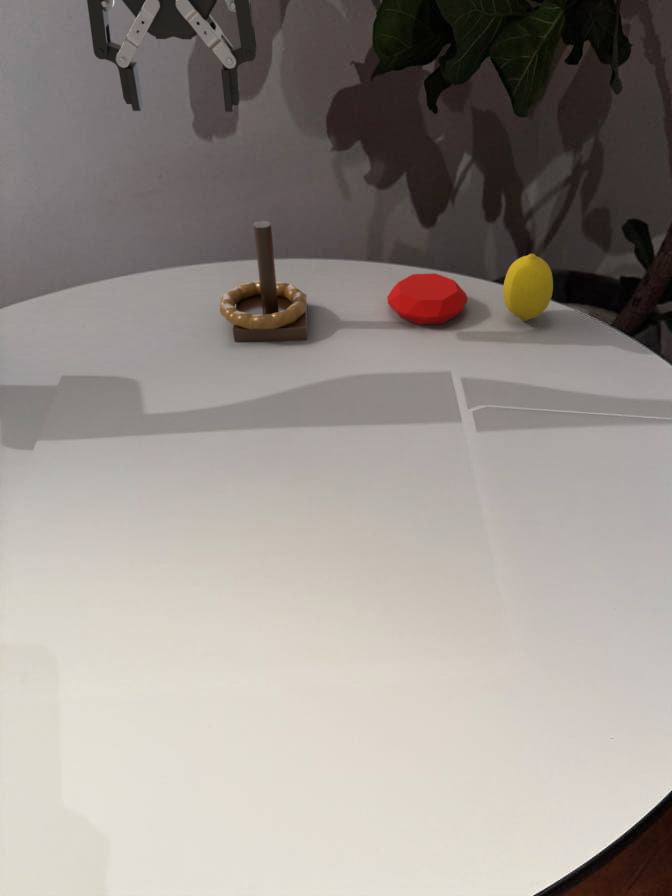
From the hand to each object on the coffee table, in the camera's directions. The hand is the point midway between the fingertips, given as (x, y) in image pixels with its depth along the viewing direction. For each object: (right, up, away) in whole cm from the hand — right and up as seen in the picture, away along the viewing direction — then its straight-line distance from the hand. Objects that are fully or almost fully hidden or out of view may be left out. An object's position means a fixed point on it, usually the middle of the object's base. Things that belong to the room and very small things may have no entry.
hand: (184, 109), depth 82 cm
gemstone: (+23, -14, +20) cm, 34 cm away
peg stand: (+6, -16, +17) cm, 24 cm away
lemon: (+35, -15, +19) cm, 42 cm away
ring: (+5, -14, +16) cm, 22 cm away
